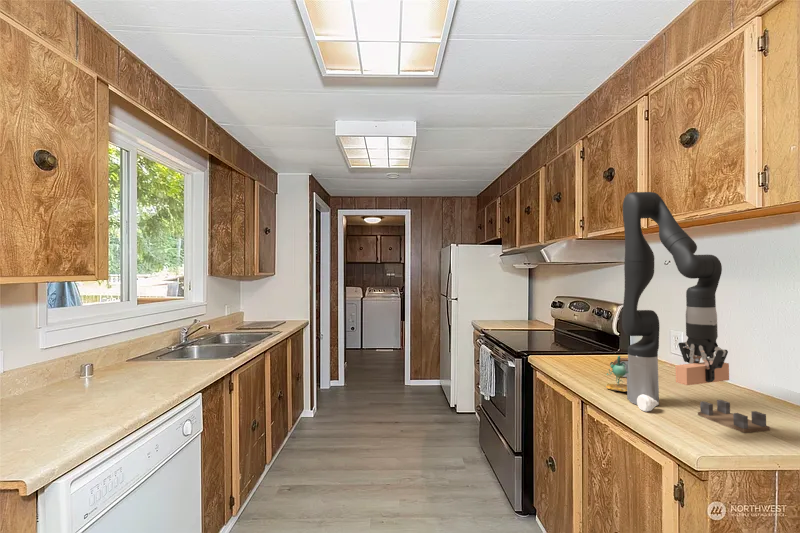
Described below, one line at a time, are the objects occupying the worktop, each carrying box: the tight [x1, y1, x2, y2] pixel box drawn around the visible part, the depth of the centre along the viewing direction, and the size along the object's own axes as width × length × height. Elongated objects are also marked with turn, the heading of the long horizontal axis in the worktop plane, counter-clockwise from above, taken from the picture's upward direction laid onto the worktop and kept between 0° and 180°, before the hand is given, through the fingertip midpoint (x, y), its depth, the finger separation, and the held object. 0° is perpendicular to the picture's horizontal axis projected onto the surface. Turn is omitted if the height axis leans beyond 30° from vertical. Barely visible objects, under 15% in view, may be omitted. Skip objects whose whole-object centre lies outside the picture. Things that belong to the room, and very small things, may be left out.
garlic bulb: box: [637, 394, 659, 413], centre depth 138 cm, size 6×6×6 cm
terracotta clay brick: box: [675, 361, 730, 386], centre depth 121 cm, size 4×16×5 cm, turn 105°
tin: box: [611, 357, 629, 379], centre depth 179 cm, size 15×3×8 cm, turn 81°
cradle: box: [697, 399, 771, 434], centre depth 126 cm, size 15×9×4 cm, turn 10°
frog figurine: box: [605, 355, 629, 393], centre depth 162 cm, size 10×18×15 cm, turn 175°
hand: (702, 379), depth 120 cm, fingers closed on terracotta clay brick, 3 cm apart
